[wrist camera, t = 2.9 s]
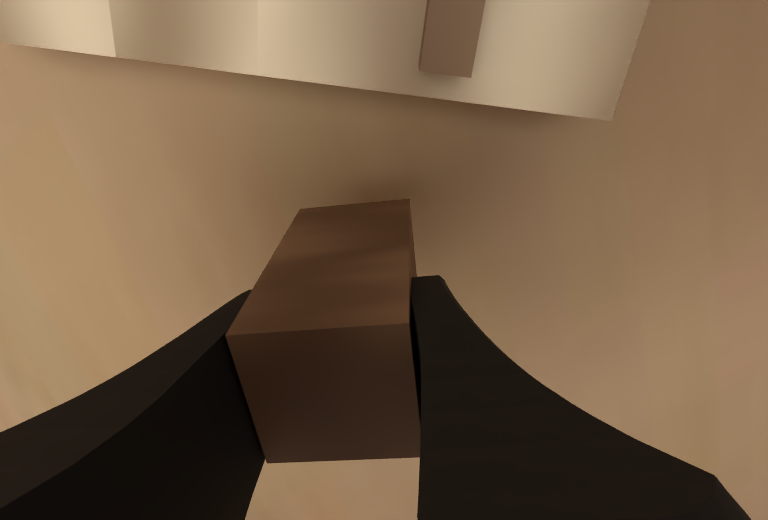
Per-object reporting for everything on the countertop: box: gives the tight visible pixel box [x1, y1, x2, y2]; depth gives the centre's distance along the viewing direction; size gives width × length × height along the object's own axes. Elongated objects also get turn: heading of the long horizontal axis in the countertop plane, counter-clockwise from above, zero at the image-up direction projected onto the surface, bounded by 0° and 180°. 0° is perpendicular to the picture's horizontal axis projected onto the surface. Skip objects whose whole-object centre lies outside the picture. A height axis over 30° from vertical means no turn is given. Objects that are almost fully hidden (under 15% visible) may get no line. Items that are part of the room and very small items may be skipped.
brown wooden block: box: [225, 199, 421, 463], centre depth 11 cm, size 3×3×6 cm
